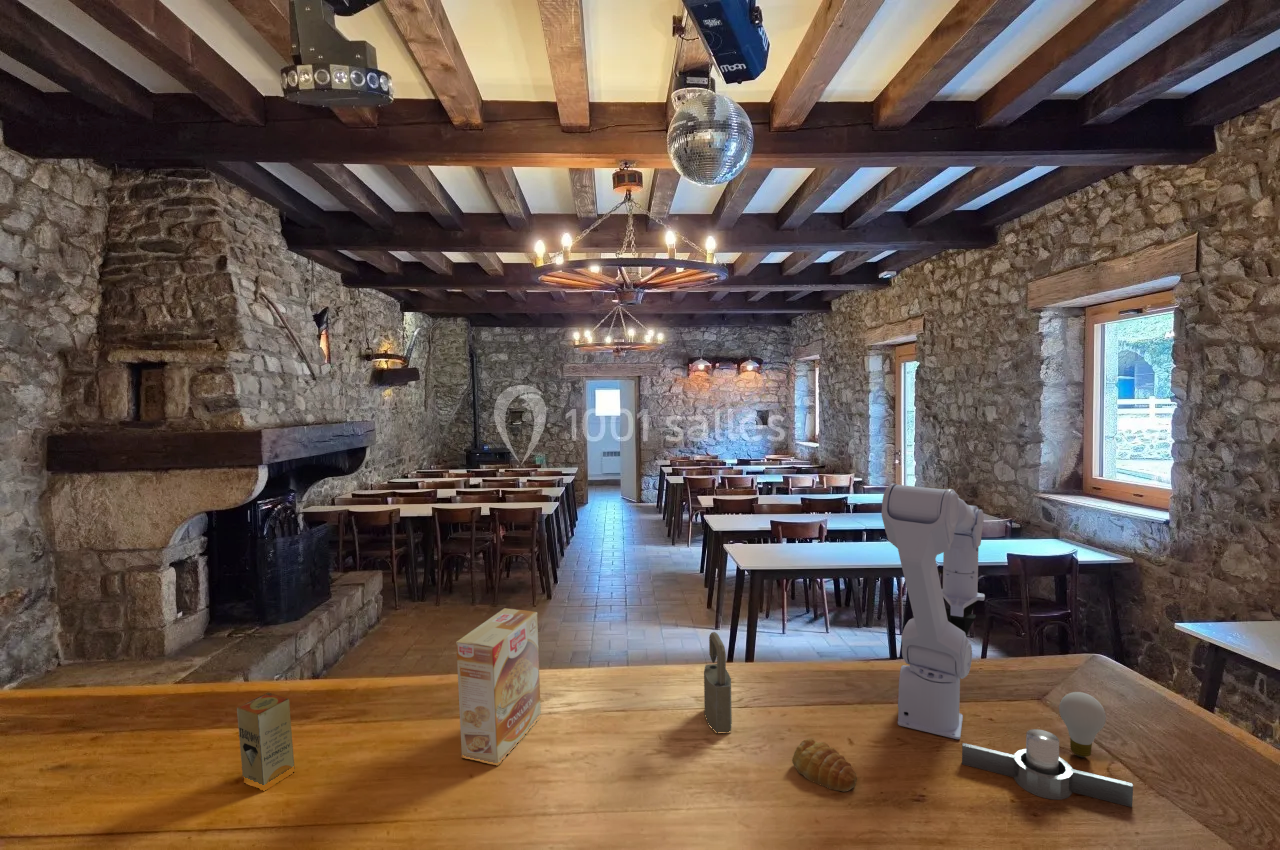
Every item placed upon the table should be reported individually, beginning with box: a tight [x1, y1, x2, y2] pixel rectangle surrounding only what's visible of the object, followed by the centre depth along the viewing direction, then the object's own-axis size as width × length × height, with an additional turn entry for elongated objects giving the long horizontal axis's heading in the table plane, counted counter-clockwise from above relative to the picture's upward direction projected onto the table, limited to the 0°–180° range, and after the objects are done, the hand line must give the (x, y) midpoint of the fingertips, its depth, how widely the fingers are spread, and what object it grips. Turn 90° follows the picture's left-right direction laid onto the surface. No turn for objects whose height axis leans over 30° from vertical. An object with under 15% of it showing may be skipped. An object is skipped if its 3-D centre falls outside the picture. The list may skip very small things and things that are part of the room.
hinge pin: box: [1025, 728, 1060, 776], centre depth 93 cm, size 4×4×7 cm
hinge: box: [961, 742, 1134, 808], centre depth 93 cm, size 21×7×3 cm, turn 60°
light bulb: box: [1058, 691, 1107, 759], centre depth 99 cm, size 6×6×10 cm
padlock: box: [703, 631, 733, 733], centre depth 111 cm, size 4×8×15 cm, turn 6°
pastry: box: [791, 737, 858, 793], centre depth 96 cm, size 9×7×4 cm
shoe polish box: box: [236, 692, 295, 785], centre depth 98 cm, size 5×5×12 cm
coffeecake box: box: [455, 607, 542, 763], centre depth 107 cm, size 15×7×20 cm, turn 161°
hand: (958, 640), depth 119 cm, fingers open, 7 cm apart
